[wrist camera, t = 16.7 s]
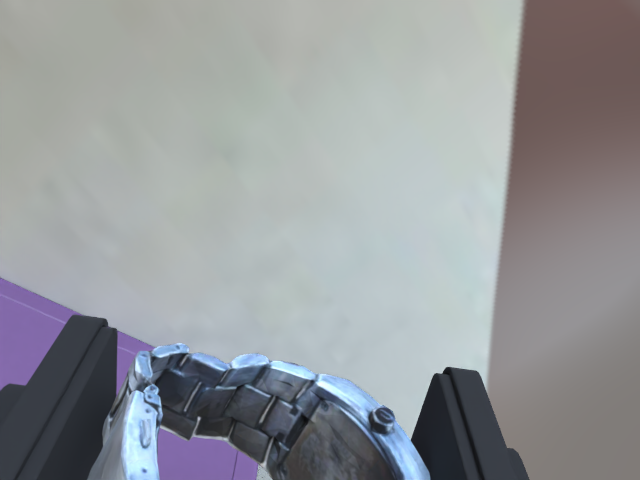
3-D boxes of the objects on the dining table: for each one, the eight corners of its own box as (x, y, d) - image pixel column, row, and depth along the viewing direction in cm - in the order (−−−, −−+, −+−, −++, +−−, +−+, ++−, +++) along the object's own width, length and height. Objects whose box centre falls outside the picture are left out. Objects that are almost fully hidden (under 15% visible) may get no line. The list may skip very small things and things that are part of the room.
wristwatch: (238, 399, 13) (390, 603, 10) (-1, 444, 9) (152, 800, 6) (307, 292, 12) (493, 487, 9) (77, 287, 8) (294, 627, 5)
